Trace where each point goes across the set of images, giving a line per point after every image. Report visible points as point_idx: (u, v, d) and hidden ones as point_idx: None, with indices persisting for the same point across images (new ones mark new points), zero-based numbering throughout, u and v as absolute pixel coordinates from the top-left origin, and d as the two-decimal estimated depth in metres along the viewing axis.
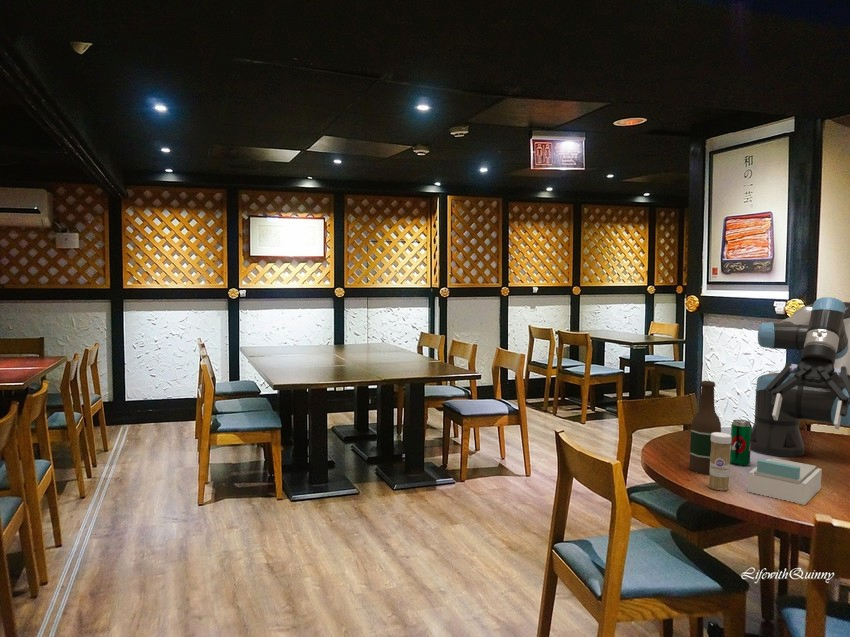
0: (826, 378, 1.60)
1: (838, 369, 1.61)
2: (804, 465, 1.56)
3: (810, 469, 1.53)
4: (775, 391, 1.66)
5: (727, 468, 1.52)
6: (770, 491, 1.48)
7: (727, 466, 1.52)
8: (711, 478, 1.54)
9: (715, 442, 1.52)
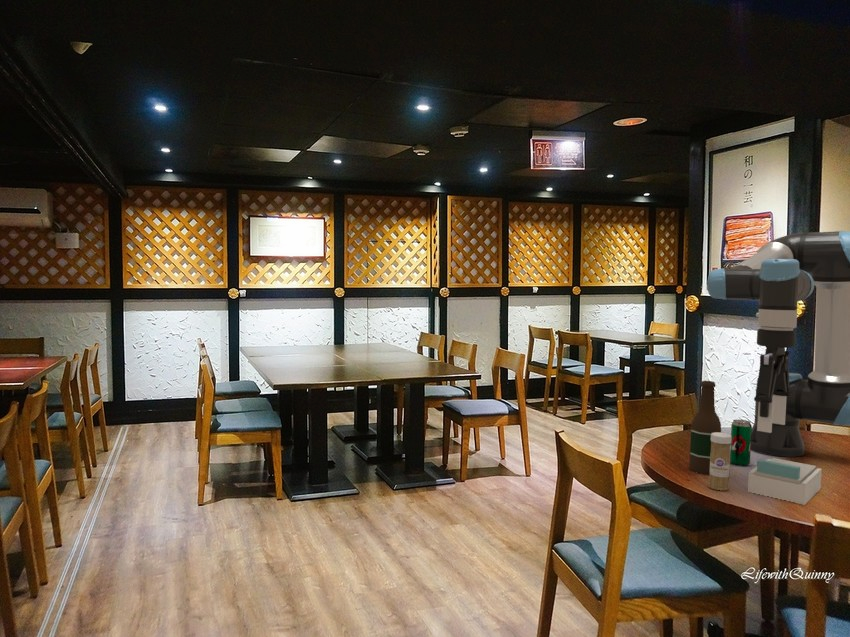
0: None
1: None
2: (804, 465, 1.56)
3: (810, 469, 1.53)
4: None
5: (727, 468, 1.52)
6: (770, 491, 1.48)
7: (727, 466, 1.52)
8: (711, 478, 1.54)
9: (715, 442, 1.52)
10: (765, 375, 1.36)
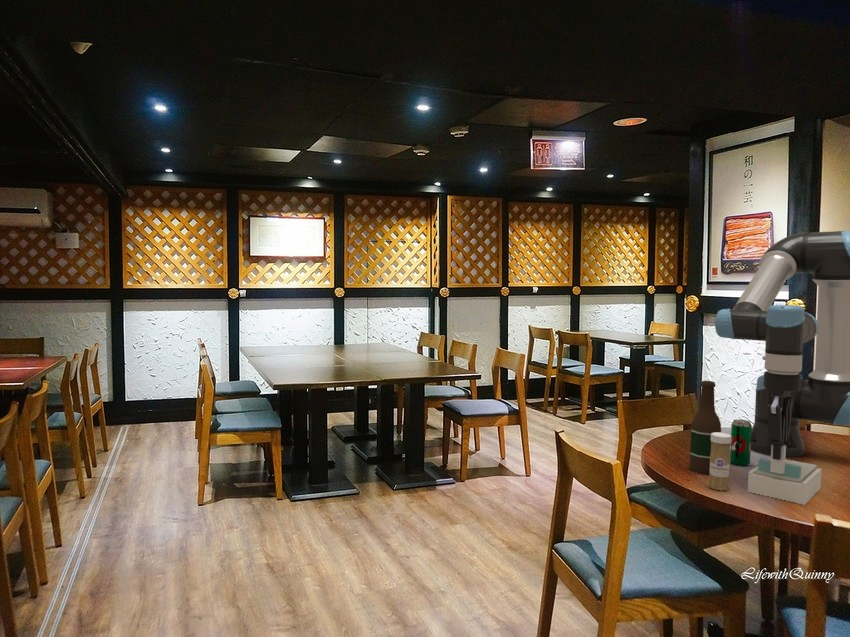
0: None
1: None
2: (805, 464, 1.57)
3: (811, 468, 1.53)
4: None
5: (727, 468, 1.52)
6: (770, 491, 1.48)
7: (727, 466, 1.52)
8: (711, 478, 1.54)
9: (715, 442, 1.52)
10: (774, 424, 1.43)
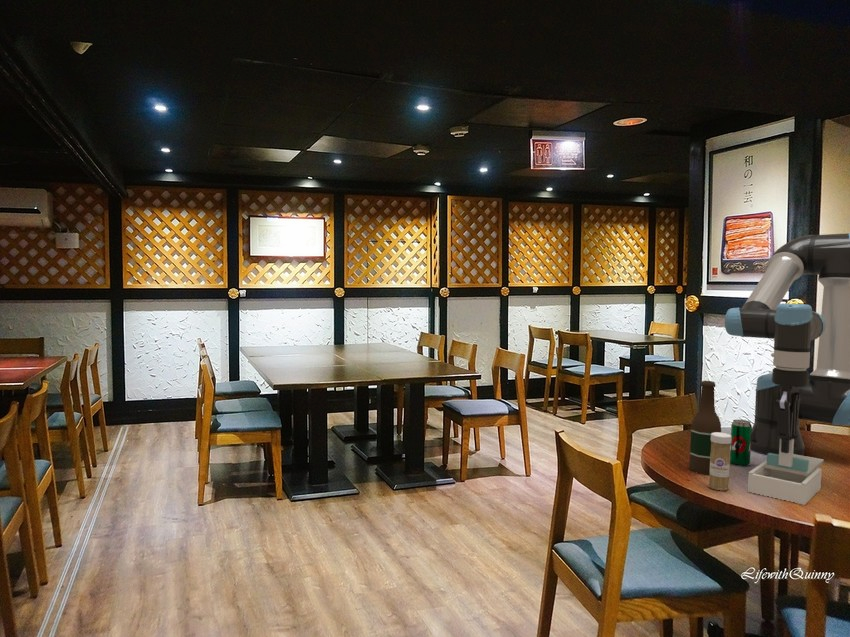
0: None
1: None
2: (812, 458, 1.62)
3: (818, 462, 1.59)
4: None
5: (727, 468, 1.52)
6: (770, 491, 1.48)
7: (727, 466, 1.52)
8: (711, 478, 1.54)
9: (715, 442, 1.52)
10: (783, 418, 1.48)
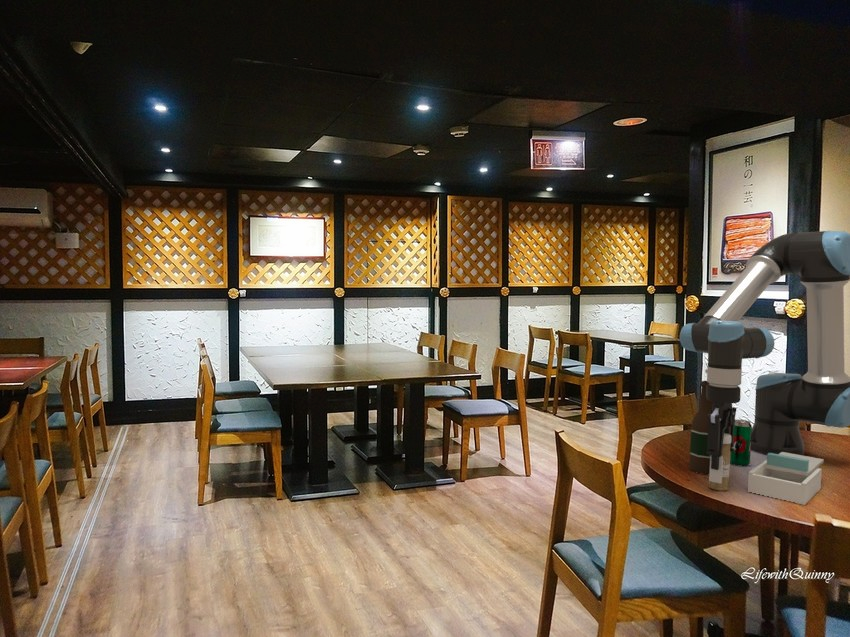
0: None
1: None
2: (812, 458, 1.62)
3: (818, 462, 1.59)
4: None
5: (727, 468, 1.52)
6: (770, 491, 1.48)
7: (727, 466, 1.52)
8: None
9: None
10: (713, 433, 1.49)
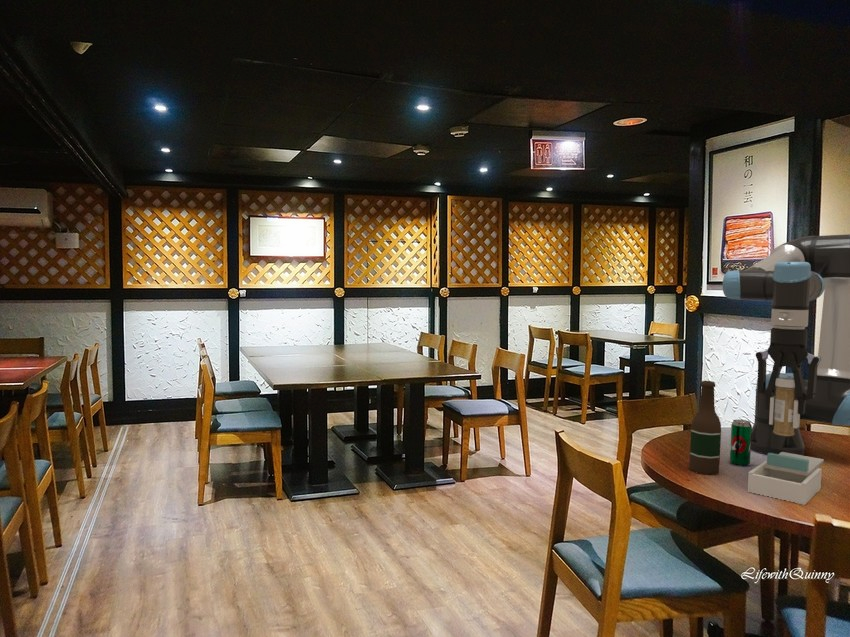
0: (793, 369, 1.47)
1: (811, 356, 1.45)
2: (812, 458, 1.62)
3: (818, 462, 1.59)
4: (768, 394, 1.51)
5: None
6: (770, 491, 1.48)
7: None
8: (791, 425, 1.48)
9: (795, 387, 1.48)
10: (815, 376, 1.46)
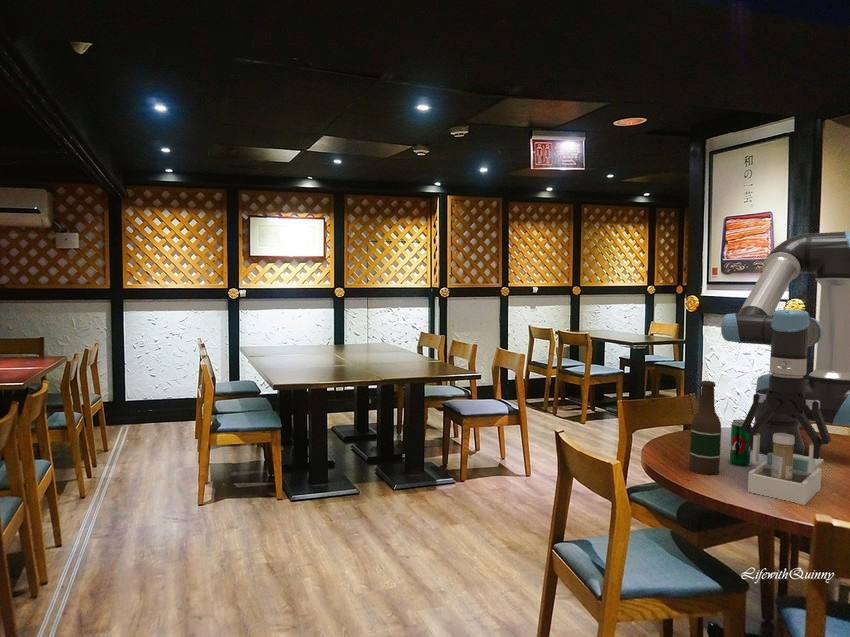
0: (797, 417, 1.47)
1: (810, 402, 1.46)
2: None
3: (818, 462, 1.59)
4: (751, 433, 1.54)
5: None
6: (770, 491, 1.48)
7: None
8: None
9: (793, 444, 1.49)
10: (822, 420, 1.45)
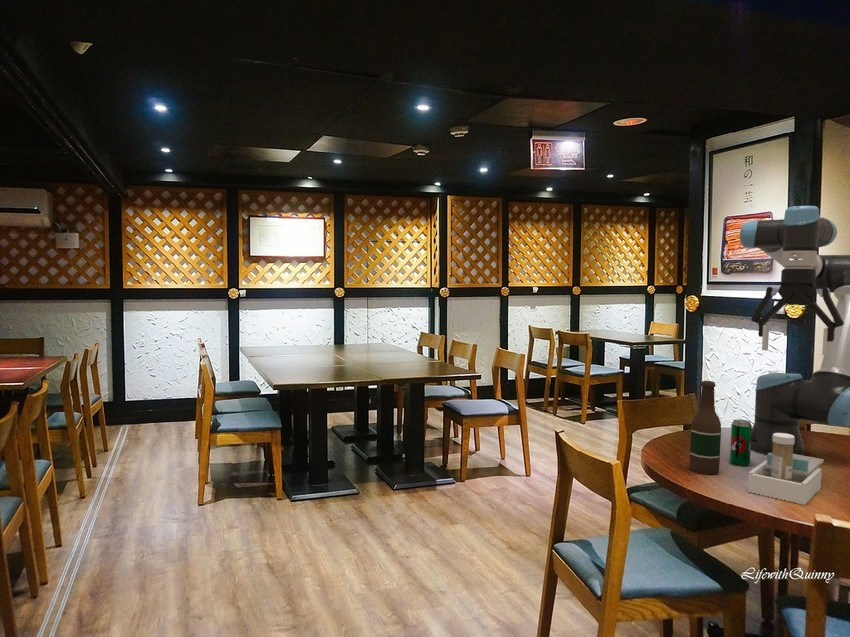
0: (809, 305, 1.57)
1: (820, 290, 1.56)
2: (812, 458, 1.62)
3: (818, 462, 1.59)
4: (761, 323, 1.65)
5: None
6: (770, 491, 1.48)
7: None
8: None
9: (792, 444, 1.49)
10: (833, 305, 1.55)
